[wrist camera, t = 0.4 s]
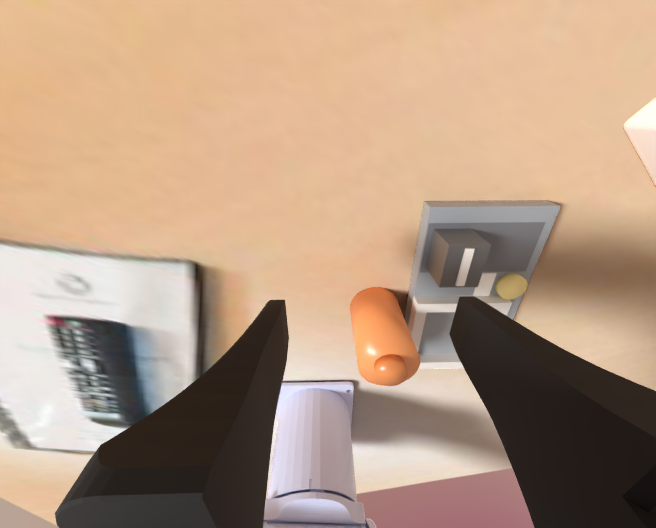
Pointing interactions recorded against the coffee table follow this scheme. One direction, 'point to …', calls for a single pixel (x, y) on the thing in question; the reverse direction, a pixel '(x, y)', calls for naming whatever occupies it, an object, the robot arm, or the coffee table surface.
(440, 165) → the coffee table surface
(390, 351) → the orange bottle
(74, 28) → the coffee table surface
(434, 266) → the block
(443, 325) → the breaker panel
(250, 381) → the robot arm
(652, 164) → the medicine bottle
